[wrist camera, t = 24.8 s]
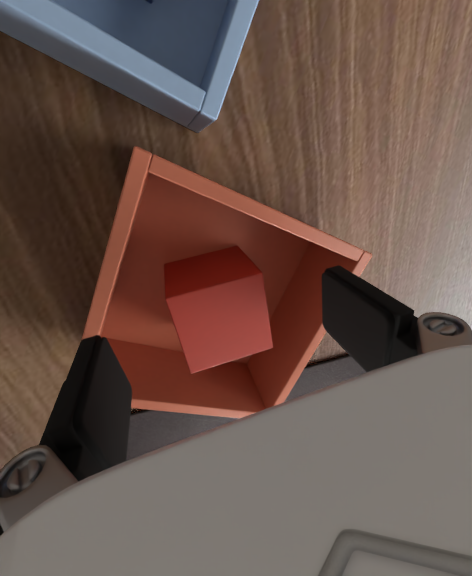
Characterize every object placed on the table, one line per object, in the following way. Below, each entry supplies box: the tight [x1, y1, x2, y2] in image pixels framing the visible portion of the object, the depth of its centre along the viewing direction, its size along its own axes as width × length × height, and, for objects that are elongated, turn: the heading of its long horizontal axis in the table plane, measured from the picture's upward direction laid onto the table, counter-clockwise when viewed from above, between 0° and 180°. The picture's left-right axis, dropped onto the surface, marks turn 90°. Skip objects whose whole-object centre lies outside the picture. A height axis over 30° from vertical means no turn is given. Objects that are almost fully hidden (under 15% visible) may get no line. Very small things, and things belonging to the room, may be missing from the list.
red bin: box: [81, 146, 372, 418], centre depth 15 cm, size 11×11×5 cm
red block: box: [164, 246, 273, 373], centre depth 15 cm, size 4×4×4 cm
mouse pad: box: [126, 355, 367, 461], centre depth 28 cm, size 32×27×1 cm
